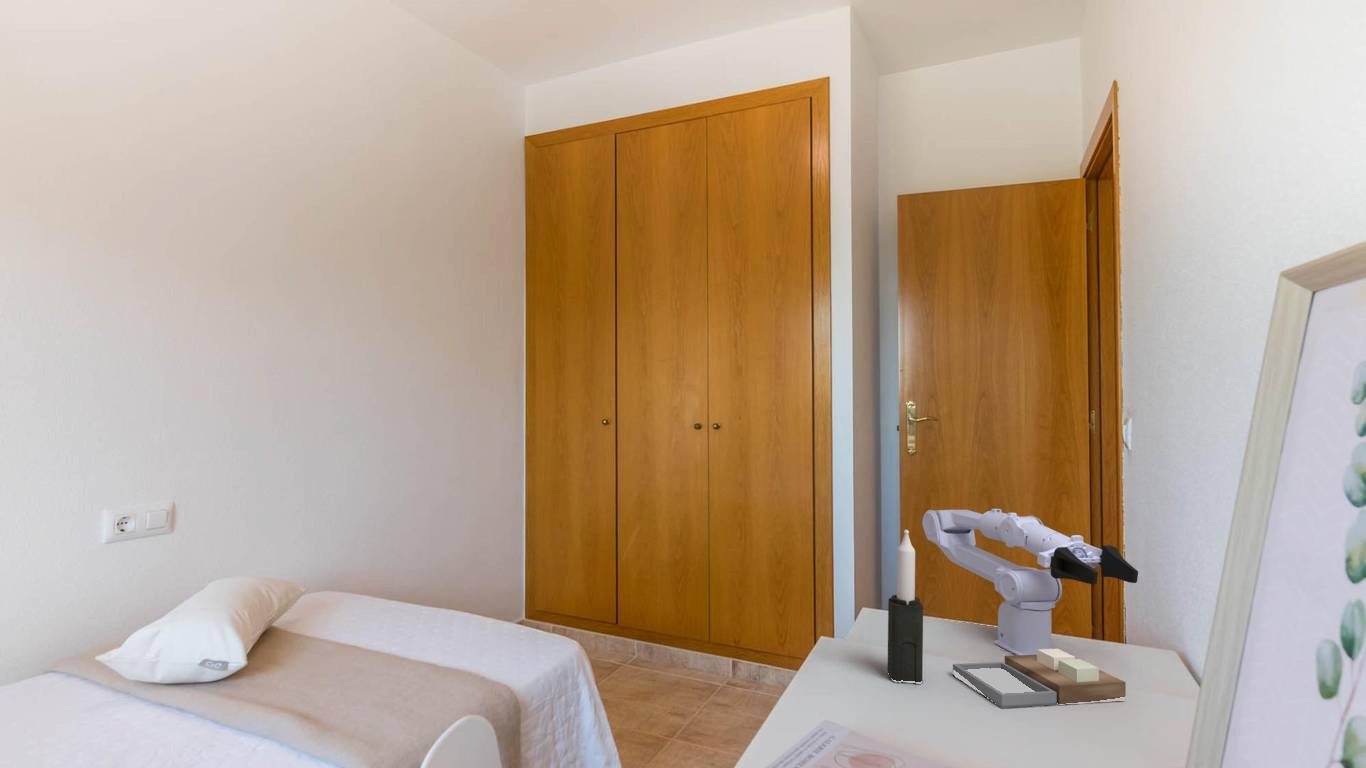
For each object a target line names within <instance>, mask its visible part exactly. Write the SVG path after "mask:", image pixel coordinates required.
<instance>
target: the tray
mask: <svg viewBox="0 0 1366 768" xmlns="http://www.w3.org/2000/svg"><path fill="white" fill-rule="evenodd" d="M980 668H990V669H991V668H1001V669H1004V670H1006V671H1007V672H1009V673H1010V674H1011V675H1012V676H1014V677H1015V678H1017V679H1018V680H1019V681H1021V682H1022V683H1023V684H1025V685H1026V686H1028V687H1029V688H1031V689H1032V690H1034V691H1035V692H1024V693H1005V694H1003V693H1001V692H1000V691H998V690H996V689H995V688H993V687H992V686H990V685H989V684H987V683H985V682H984V681H982V680H981V679H979V678H978V677H976V676H974V675H973V674H971V673H970V672H968V671H966V670H968V669H980ZM953 670H955V671H956V672H958V673H959V674H960V675H961V676H963V677H964V678H965V679H967V680H968V681H969V682H970V683H971V684H972V685H974V686H975V687H976V688H977V689H978V690H980V691H981V692H982V693H983V694H984V695H985V696H986V697H988V698H989V699H990V700H992V701H993V702H994V703H996V704H997V705H998V706H997V705H996V704H995V705H996V706H997V707H999V706H1000V707H1001V708H1000V707H999V708H1000V709H1002V708H1006V709H1018V707H1023V708H1030V707H1029V706H1040V707H1045V706H1044V705H1057V706H1058V704H1057V692H1055V691H1053V690H1051V689H1050V688H1048V687H1046V686H1044V685H1042V684H1041V683H1039V682H1037V681H1035V680H1034V679H1032V678H1030V677H1028V676H1026V675H1025V674H1023V673H1021V672H1019V671H1018V670H1016V669H1014V668H1012V667H1010V666H1009V665H1007V664H1005V662H1004V661H995V662H994V661H993V662H991V661H990V662H989V661H988V662H974V663H973V662H972V663H971V662H968V663H967V662H966V663H965V662H964V663H952V671H953ZM990 700H989V701H990ZM993 702H992V703H993ZM994 703H993V704H994Z"/></svg>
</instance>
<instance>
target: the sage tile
mask: <svg viewBox="0 0 1366 768" xmlns="http://www.w3.org/2000/svg"><path fill="white" fill-rule="evenodd" d="M1099 670H1100V669H1099V667H1097V666H1096V665H1093V664H1091V663H1089V662H1087V661H1084V660H1082V659H1081V658H1076V659H1071V660H1058V672H1059V673H1061V674H1062V675H1064V676H1066V677H1068V678H1070V679H1072V680H1074V681H1076V682H1087V681H1099Z"/></svg>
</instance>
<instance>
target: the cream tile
mask: <svg viewBox="0 0 1366 768" xmlns="http://www.w3.org/2000/svg"><path fill="white" fill-rule="evenodd" d="M1075 658H1076V656H1074V655H1072V654H1070V653H1067V652H1066V651H1063V650H1062V649H1059V648H1051V649H1037V662H1039V663H1041V664H1043V665H1045V666H1047V667H1049V668H1051V669H1053V670H1058V660H1071V659H1075Z"/></svg>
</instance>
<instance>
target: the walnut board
mask: <svg viewBox="0 0 1366 768" xmlns="http://www.w3.org/2000/svg"><path fill="white" fill-rule="evenodd" d="M1075 659H1077V658H1076V657H1075ZM1004 663H1005V664H1007V665H1009V666H1010V667H1012V668H1014V669H1016V670H1018V671H1019V672H1021V673H1023V674H1025V675H1026V676H1028V677H1030V678H1032V679H1034V680H1035V681H1037V682H1039V683H1041V684H1042V685H1044V686H1046V687H1048V688H1050V689H1051V690H1053V691H1055V692H1057V703H1058V704H1066V703H1078V702H1091V701H1100V700H1107V699H1115V698H1120V697H1125V696H1126V695H1127V694H1126V692H1127V691H1126V690H1127V689H1126V682H1127V681H1123V680H1122V679H1119V678H1118V677H1116V676H1114V675H1111V674H1109V673H1107V672H1105V671H1103V670H1100V669H1099V681H1087V682H1076V681H1074V680H1072V679H1070V678H1068V677H1066V676H1064V675H1062V674H1061V673H1059V672H1058V670H1053V669H1051V668H1049V667H1047V666H1045V665H1043V664H1041V663H1039V662H1037V655H1016V654H1014V655H1004ZM1058 704H1057V705H1058Z"/></svg>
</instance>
